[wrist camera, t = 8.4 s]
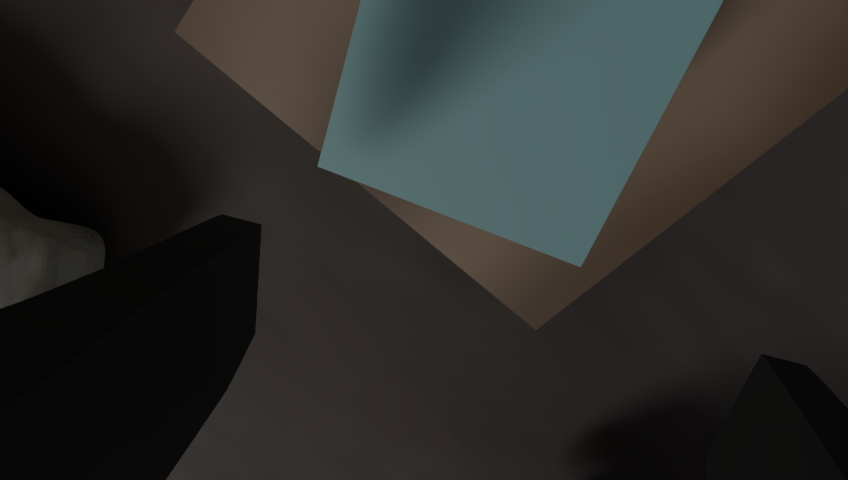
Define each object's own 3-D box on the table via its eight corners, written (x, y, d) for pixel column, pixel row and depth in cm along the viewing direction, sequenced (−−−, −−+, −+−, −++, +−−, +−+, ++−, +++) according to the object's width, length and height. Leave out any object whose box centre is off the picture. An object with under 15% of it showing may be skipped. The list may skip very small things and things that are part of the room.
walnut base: (925, -34, 16) (975, -10, 14) (541, 280, 22) (535, 330, 20) (525, -476, 14) (512, -528, 12) (219, 8, 20) (174, 31, 18)
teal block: (689, -61, 14) (727, -7, 10) (584, 155, 17) (580, 267, 13) (453, -150, 15) (395, -134, 10) (385, 79, 17) (317, 166, 13)
